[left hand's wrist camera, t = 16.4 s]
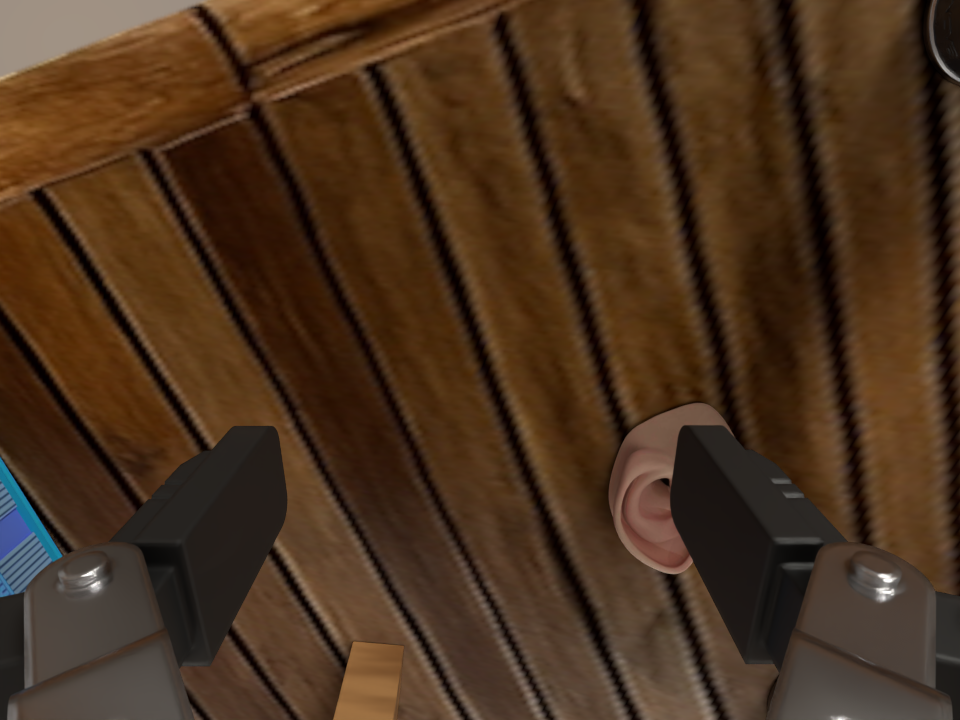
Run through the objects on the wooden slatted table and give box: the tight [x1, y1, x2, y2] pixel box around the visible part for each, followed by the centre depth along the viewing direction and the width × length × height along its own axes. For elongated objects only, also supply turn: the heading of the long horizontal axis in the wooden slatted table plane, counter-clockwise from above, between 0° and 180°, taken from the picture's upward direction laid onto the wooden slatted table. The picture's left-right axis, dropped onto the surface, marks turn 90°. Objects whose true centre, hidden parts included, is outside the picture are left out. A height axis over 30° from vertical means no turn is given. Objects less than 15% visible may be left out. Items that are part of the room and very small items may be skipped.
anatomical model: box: [609, 403, 734, 574], centre depth 46 cm, size 13×4×12 cm
